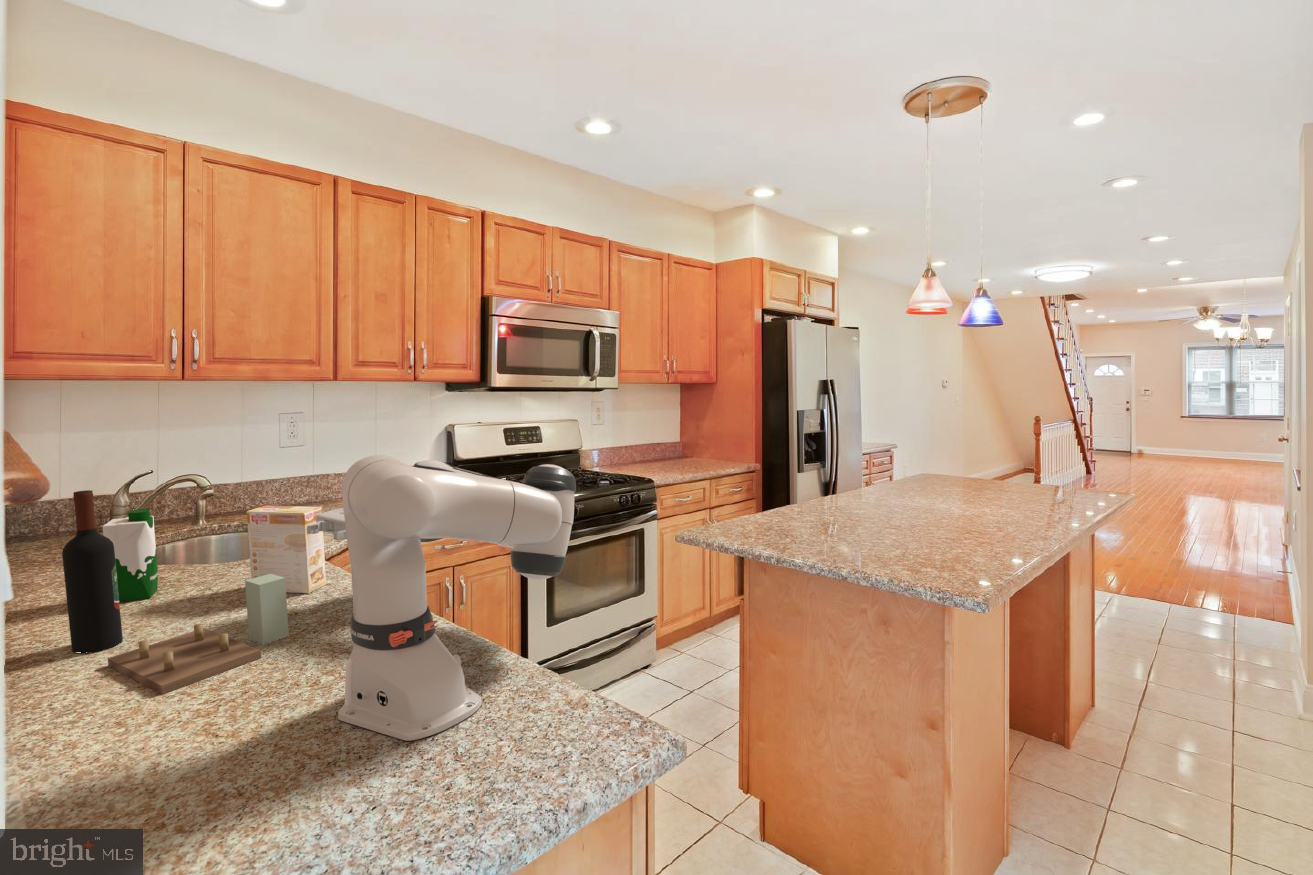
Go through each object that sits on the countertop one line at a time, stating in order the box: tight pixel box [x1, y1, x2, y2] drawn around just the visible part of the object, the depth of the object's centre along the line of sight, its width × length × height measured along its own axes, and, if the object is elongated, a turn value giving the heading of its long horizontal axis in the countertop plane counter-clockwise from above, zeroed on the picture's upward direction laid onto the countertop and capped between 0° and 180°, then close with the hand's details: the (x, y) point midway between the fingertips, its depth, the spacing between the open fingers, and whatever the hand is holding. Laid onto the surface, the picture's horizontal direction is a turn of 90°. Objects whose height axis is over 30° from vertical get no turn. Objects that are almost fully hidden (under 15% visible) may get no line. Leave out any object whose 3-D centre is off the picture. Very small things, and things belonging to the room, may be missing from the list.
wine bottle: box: [61, 489, 124, 654], centre depth 128 cm, size 8×8×30 cm
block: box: [244, 574, 290, 646], centre depth 133 cm, size 5×5×12 cm
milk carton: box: [102, 508, 159, 603], centre depth 156 cm, size 9×9×20 cm
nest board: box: [107, 623, 262, 695], centre depth 123 cm, size 20×16×4 cm
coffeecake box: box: [246, 505, 327, 594], centre depth 162 cm, size 15×7×20 cm, turn 82°
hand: (321, 533), depth 142 cm, fingers open, 8 cm apart
